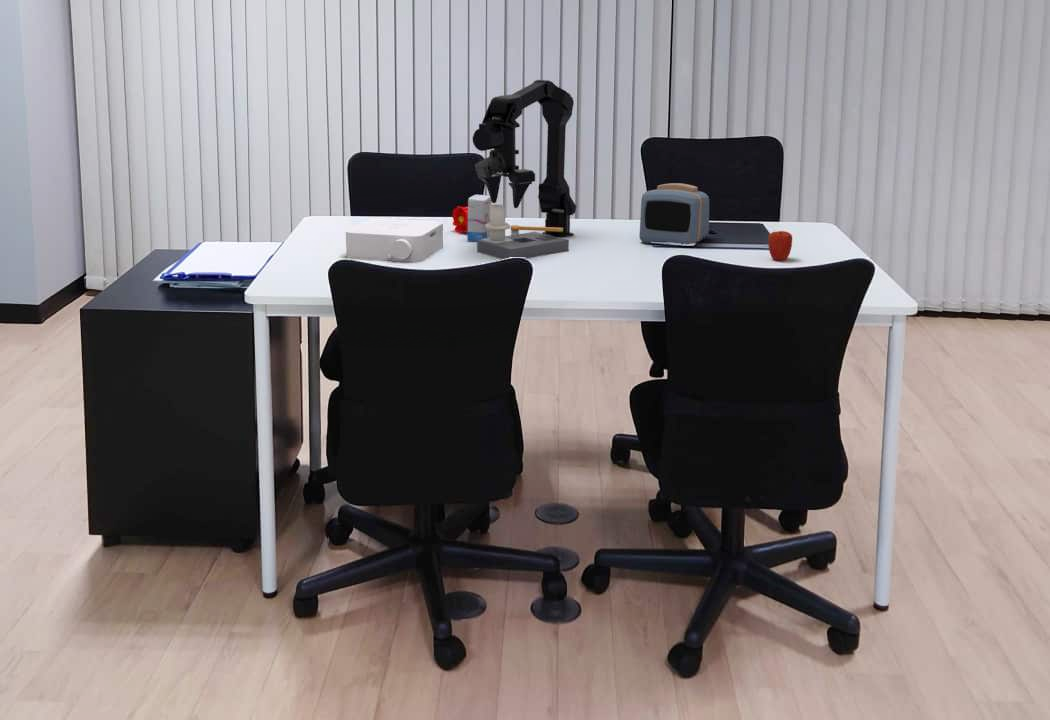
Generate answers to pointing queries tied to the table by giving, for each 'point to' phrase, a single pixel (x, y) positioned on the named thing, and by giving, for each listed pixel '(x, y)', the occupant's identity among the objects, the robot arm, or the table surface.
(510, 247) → the grey flat block
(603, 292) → the table surface
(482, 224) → the ink box
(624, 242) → the table surface
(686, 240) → the retro portable television
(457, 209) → the flower
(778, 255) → the red rounded lump
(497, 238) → the plug
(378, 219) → the projector
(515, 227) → the orange matchstick
